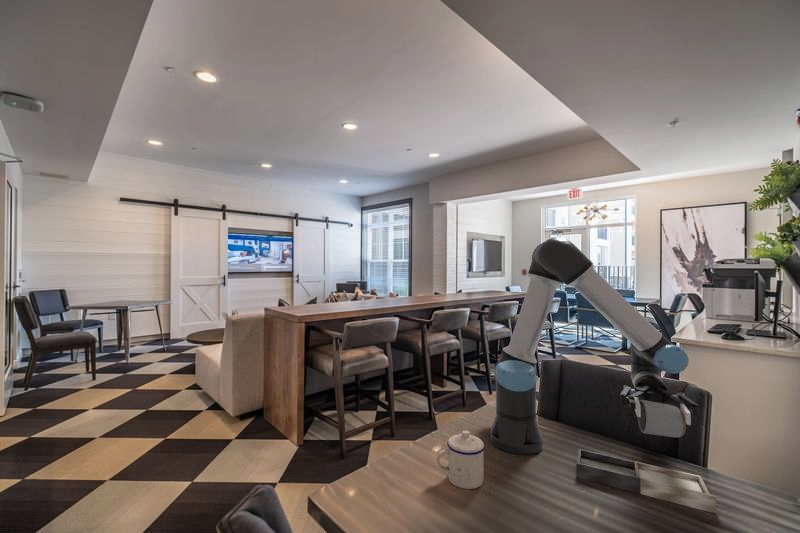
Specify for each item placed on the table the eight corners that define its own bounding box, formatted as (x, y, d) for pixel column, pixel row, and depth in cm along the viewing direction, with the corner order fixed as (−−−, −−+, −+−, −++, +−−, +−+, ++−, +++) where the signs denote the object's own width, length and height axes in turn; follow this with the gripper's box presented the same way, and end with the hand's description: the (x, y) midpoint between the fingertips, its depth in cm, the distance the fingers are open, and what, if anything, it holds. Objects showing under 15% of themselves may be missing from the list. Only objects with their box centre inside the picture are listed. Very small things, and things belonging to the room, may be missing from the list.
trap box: (576, 477, 88) (576, 463, 88) (578, 454, 99) (578, 441, 99) (716, 513, 75) (716, 497, 75) (700, 482, 86) (700, 467, 86)
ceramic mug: (688, 444, 80) (687, 409, 80) (646, 438, 82) (645, 405, 83) (669, 425, 90) (668, 395, 90) (632, 421, 92) (632, 392, 93)
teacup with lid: (477, 468, 92) (477, 423, 92) (489, 489, 83) (489, 439, 83) (432, 470, 90) (432, 425, 91) (440, 492, 81) (440, 441, 82)
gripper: (697, 407, 96) (724, 441, 76) (607, 394, 106) (609, 421, 87) (697, 380, 96) (723, 407, 76) (606, 369, 106) (609, 391, 87)
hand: (662, 414), depth 81 cm, fingers closed on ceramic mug, 9 cm apart
